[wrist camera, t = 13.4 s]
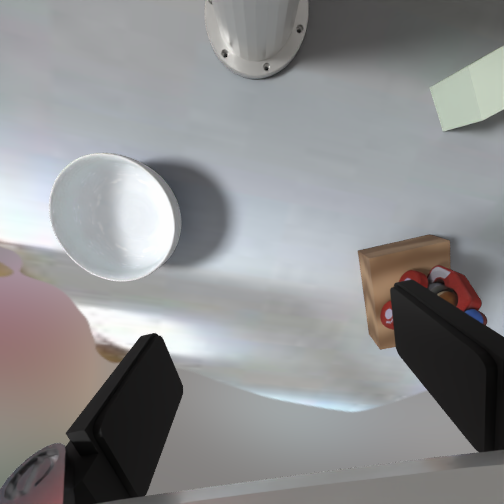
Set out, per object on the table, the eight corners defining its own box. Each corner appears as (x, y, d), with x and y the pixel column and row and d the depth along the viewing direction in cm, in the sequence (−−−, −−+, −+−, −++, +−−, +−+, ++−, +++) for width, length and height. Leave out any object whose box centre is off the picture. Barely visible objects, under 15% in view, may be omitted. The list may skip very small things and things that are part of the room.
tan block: (357, 250, 37) (369, 258, 33) (429, 234, 36) (449, 240, 32) (369, 334, 42) (380, 349, 38) (433, 321, 40) (451, 336, 37)
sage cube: (429, 87, 31) (468, 66, 25) (476, 60, 30) (527, 31, 24) (442, 131, 32) (482, 120, 26) (487, 107, 31) (539, 90, 25)
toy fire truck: (455, 269, 33) (538, 306, 24) (410, 338, 37) (466, 395, 27) (412, 253, 33) (478, 284, 23) (370, 324, 36) (412, 378, 26)
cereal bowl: (128, 132, 33) (94, 119, 27) (213, 215, 36) (202, 222, 30) (65, 215, 37) (21, 222, 30) (146, 284, 40) (123, 304, 33)
